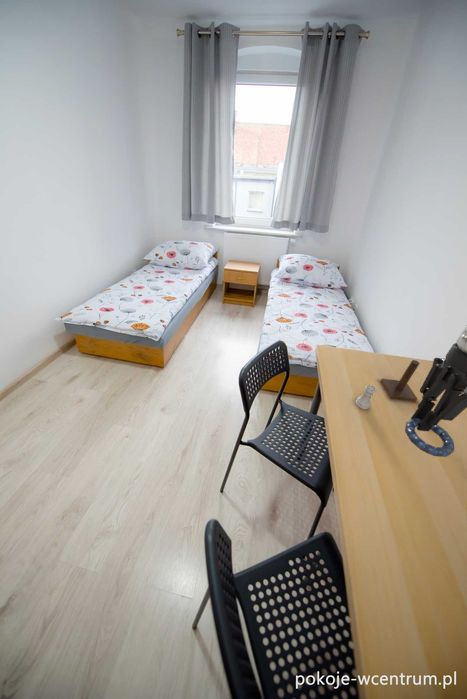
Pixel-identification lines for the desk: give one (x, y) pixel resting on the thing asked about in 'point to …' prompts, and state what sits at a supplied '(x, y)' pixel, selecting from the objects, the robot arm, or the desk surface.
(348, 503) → the desk surface
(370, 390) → the rook chess piece
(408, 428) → the ring
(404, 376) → the stand
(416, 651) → the desk surface
